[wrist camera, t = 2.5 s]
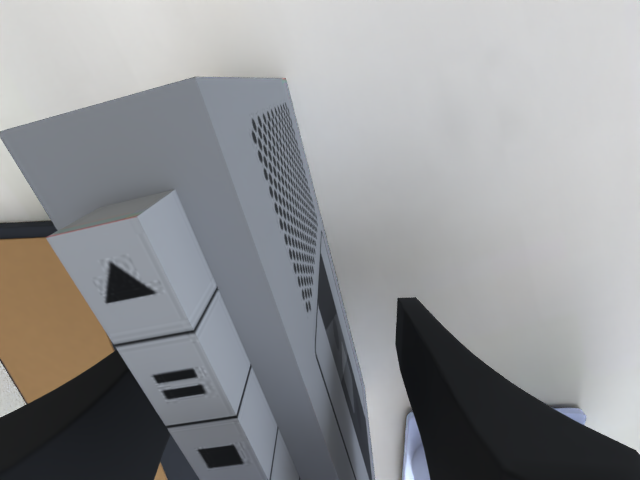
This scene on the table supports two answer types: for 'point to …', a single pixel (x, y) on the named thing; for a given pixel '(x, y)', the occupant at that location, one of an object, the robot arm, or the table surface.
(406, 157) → the table surface
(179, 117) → the cassette player
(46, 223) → the desk mat
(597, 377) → the table surface
